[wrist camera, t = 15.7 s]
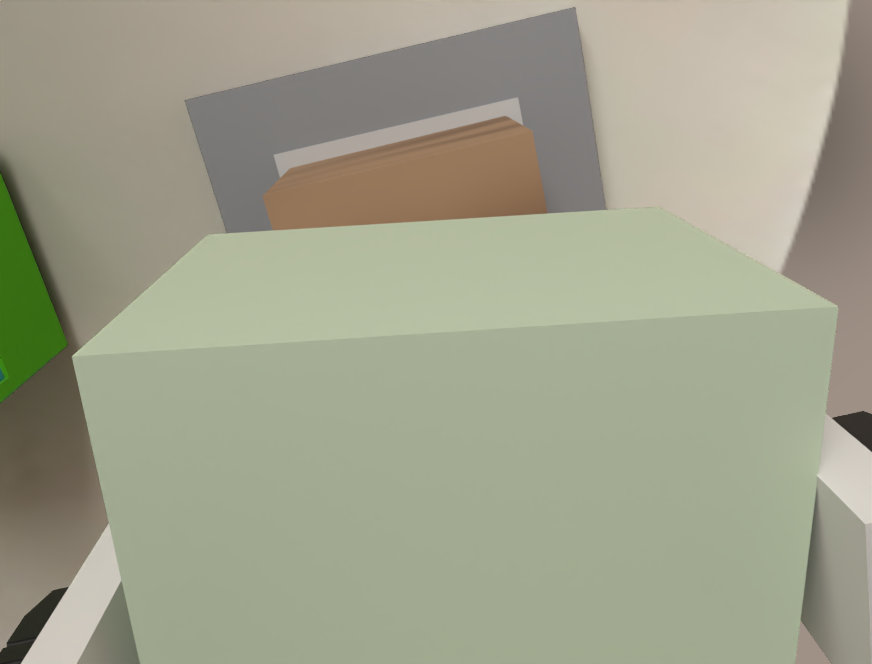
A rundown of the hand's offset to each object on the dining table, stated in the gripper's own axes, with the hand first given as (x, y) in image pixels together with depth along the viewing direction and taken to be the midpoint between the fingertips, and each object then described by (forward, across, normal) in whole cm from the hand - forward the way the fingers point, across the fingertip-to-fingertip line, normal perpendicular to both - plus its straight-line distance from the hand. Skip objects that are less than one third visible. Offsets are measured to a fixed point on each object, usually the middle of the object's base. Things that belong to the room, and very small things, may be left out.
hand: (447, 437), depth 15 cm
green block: (0, 0, 0) cm, 0 cm away
